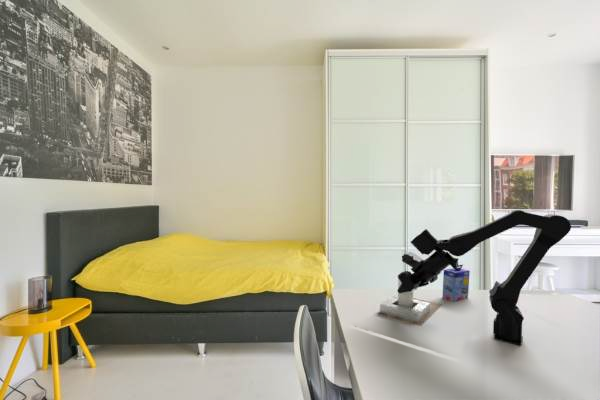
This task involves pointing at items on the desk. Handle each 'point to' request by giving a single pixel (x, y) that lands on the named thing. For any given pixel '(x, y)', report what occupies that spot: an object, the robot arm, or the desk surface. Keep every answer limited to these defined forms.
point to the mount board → (433, 309)
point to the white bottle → (405, 298)
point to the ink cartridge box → (456, 284)
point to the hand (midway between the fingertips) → (402, 290)
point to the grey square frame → (405, 309)
